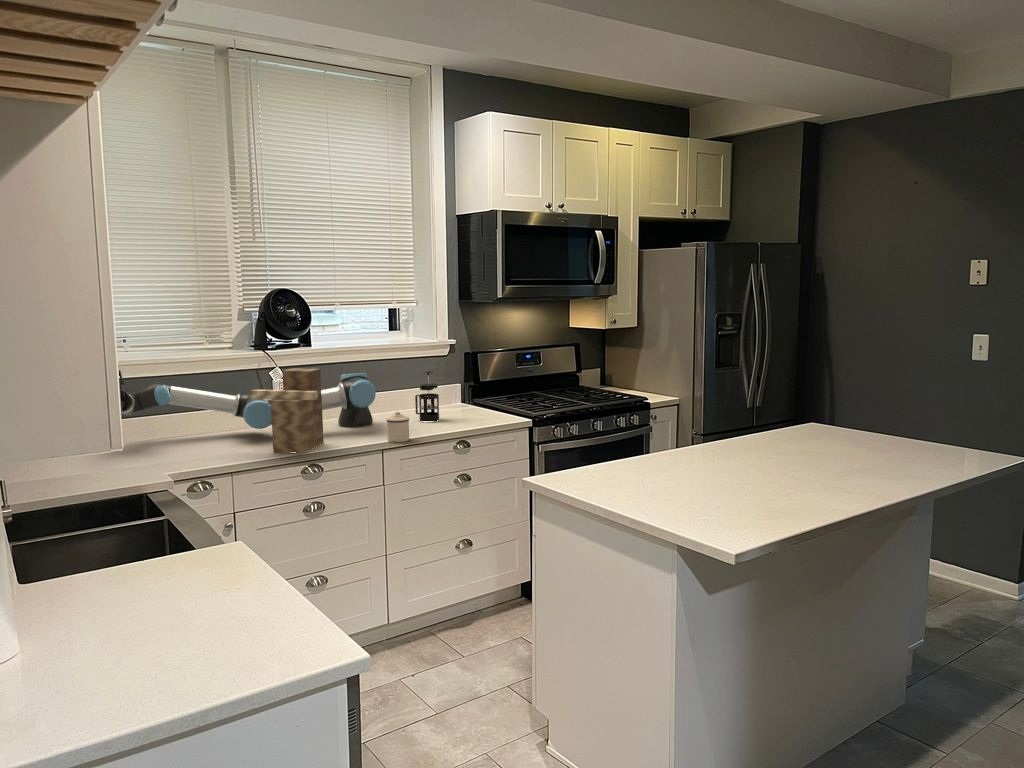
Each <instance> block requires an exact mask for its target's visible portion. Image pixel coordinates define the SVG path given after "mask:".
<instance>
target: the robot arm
mask: <svg viewBox="0 0 1024 768" xmlns="http://www.w3.org/2000/svg"><path fill="white" fill-rule="evenodd" d="M118 370H119V376H120V389H121V401H122V414H121V415H122V416H129V417H130V416H133V415H135V414H137V413H139V412H143V411H146V410H150V409H152V408H153V409H154V408H157V407H161V406H164V405H174V406H179V407H180V406H181V407H187V408H188V407H189V408H194V409H200V410H201V409H202V410H206V411H208V410H209V411H212V412H213V411H214V412H221V413H229V414H232V415H233V416H234V417H237V418H242V419H244V420H243V421H244V422H245V423H246V424H247V425H248V426H249V427H250V428H253V429H255V430H256V429H257V430H262V429H265V428H268V427H270V426H272V418H271V400H274V399H256V398H251V394H243V393H237V394H236V395H233V394H228V393H219V392H215V391H214V392H212V391H207V390H200V389H195V388H194V389H193V388H188V387H181V386H174V385H167V384H163V385H161V384H162V383H161V384H153V385H150V384H149V385H150V386H149V385H148V386H149V387H148V386H147V387H148V388H147V387H146V388H147V389H146V388H145V389H144V390H140V391H137V392H133V393H128V392H127V391H124V388H122V387H124V385H125V382H124V380H123V379H124V378H123V375H122V372H121V370H120V369H118ZM321 394H322V411H326V410H331V409H335V408H340V407H341V411H340V413H339V417H338V426H340V427H344V428H359V427H367V425H368V426H371V425H373V424H374V422H373V419H374V418H373V416H372V414H371V410H370V408H369V406H371V405H372V404H373V403H374V401H375V399H376V396H377V393H376V389H375V386H374V384H373V383H372V382H370V381H369V380H368V374H367V373H364V372H363V373H362V372H361V373H344V374H341V376H340V380H339V383H338V385H337V386H335V387H329V388H324V389H321Z"/></svg>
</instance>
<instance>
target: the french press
mask: <svg viewBox="0 0 1024 768" xmlns="http://www.w3.org/2000/svg"><path fill="white" fill-rule="evenodd" d="M433 372H434V371H432V370H426V371H423V373H426V374H427V375H426V376H427V381H428V382H423V383H419V384H418V386H419V390H421V391H428V393H421V394H416V395H414V399H415V415H419V419H420V421H437V420H439V419H440V407H439V406H440V400H439V398H440V395H439V394H438V393H430V391H433V390H434V389H437V388H438V386H439V384H438V383H434V382H430V374H432V373H433ZM418 399H419V400H418ZM422 400H423V405H422ZM428 400H430V403H428ZM435 400H436V405H435ZM418 404H419V406H418ZM418 407H419V411H418ZM422 410H423V412H422ZM435 410H436V411H435ZM420 421H419V422H420Z"/></svg>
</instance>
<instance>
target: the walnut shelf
mask: <svg viewBox="0 0 1024 768" xmlns="http://www.w3.org/2000/svg"><path fill="white" fill-rule="evenodd" d="M281 373H282V390H299V391H317V392H318V399H316V400H293V399H274V400H271V418H272V425H271V432H272V435H271V436H272V450H273V451H272V453H273V452H296V453H303V454H305V453H307V452H309V451H311V450H313V449H315V448H317V447H319V446H321V445H323V444H324V443H325V442H324V440H325V439H324V421H323V420H324V419H323V417H324V416H323V410H322V394H321V390H322V376H321V368H303V367H302V368H301V367H299V368H298V367H297V368H296V367H295V368H294V367H292V368H287V369H285V370H284V369H283V370H281ZM322 443H323V444H322ZM320 444H321V445H320ZM318 445H319V446H318ZM316 446H317V447H316ZM314 447H315V448H314ZM312 448H313V449H312ZM310 449H311V450H310ZM308 450H309V451H308ZM306 451H307V452H306ZM304 452H305V453H304Z"/></svg>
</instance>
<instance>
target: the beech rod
mask: <svg viewBox="0 0 1024 768" xmlns="http://www.w3.org/2000/svg"><path fill="white" fill-rule="evenodd" d="M250 395H251V398H256V399H293V400H316V399H318V392H317V391H299V390H283V389H250Z"/></svg>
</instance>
